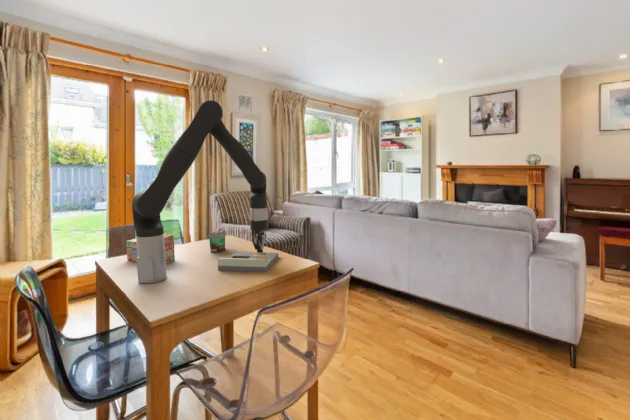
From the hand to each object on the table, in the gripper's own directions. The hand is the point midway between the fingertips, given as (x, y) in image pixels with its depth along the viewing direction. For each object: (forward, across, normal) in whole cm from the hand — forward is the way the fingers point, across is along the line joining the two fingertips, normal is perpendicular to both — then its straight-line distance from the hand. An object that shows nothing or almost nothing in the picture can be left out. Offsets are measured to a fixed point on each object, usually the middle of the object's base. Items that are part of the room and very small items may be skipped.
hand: (260, 257), depth 142 cm
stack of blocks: (+3, -1, -51) cm, 52 cm away
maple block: (+1, +5, +1) cm, 5 cm away
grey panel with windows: (+3, -2, -5) cm, 6 cm away
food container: (+3, -22, -27) cm, 35 cm away
